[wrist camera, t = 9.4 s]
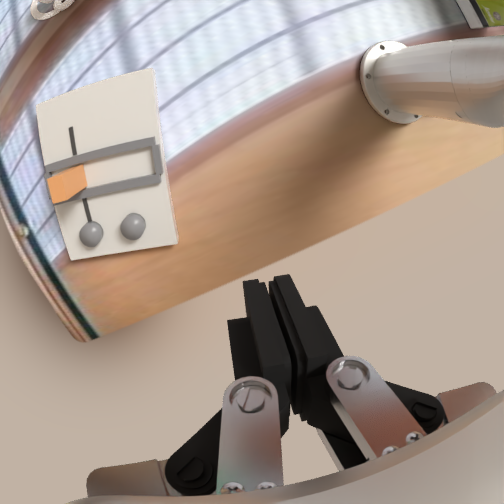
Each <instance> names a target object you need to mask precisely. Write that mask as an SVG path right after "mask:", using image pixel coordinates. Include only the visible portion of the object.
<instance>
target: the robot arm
mask: <svg viewBox="0 0 504 504" xmlns="http://www.w3.org/2000/svg"><path fill="white" fill-rule="evenodd" d="M360 80H361V85H362V89H363V91H364V94H365V96H366V98H367V100H368V102H369V103H370V105H371V106H372V107H373V109H374V110H375V111H376V112H377V113H378V114H379V115H381V116H382V117H384V118H385V119H387V120H389V121H391V122H395V123H401V124H408V123H412V122H415V121H417V120H418V119H420V118H421V117H422V116H429V117H436V118H443V119H449V120H455V121H460V122H466V123H471V124H476V125H481V126H485V127H491V128H499V127H504V35H501V36H489V37H478V38H466V39H456V40H448V41H440V42H433V43H427V44H421V45H415V46H410V47H407V46H406V45H404V44H402V43H399V42H396V41H383V42H379V43H377V44H375V45H373V46H371V47H370V48H369V49H368V50H367V51H366V53H365V54H364V56H363V59H362V61H361V66H360ZM384 111H385V112H384ZM243 289H244V297H245V306H246V313H247V317H246V318H239V319H232V320H227V322H228V330H229V339H230V346H231V354H232V361H233V368H234V376H235V381H234V382H233V383H232V384H230V385H229V386H228V388H227V389H226V390H225V393H224V396H223V407H222V409H221V410H220V411H219V412H218V413H216V414H215V415H214V416H213V417H212V418H211V419H210V420H209V421H208V422H207V423H206V424H205V425H204V426H203V427H202V428H201V429H200V430H199V431H198V432H197V433H196V434H195V435H194V436H192V437H191V439H189V440H188V441H187V442H186V443H185V444H184V445H183V446H182V447H180V448H179V449H178V450H177V451H176V452H175V453H174V454H173V455H172V456H171V457H170V458H169V459H166V460H162V461H157V460H156V459H154V460H149V461H144V462H138V463H132V464H126V465H118V466H111V467H102V468H98V469H96V470H94V471H92V472H91V473H90V474H89V476H88V478H87V484H86V487H87V494H88V498H83V499H78V500H74V501H72V502H69V503H66V504H504V390H503V391H501V392H499V393H496V391H495V389H494V388H493V387H492V386H491V385H490V384H488V383H485V382H479V383H475V384H472V385H468V386H465V387H461V388H458V389H454V390H450V391H446V392H442V393H439V394H438V395H437V396H436V397H434V396H432V395H429V394H426V393H422V392H419V391H416V390H412V389H409V388H406V387H403V386H400V385H396V384H393V383H390V382H387V381H384V380H383V379H382V377H381V376H380V375H379V374H378V372H377V371H376V370H375V369H374V368H373V366H372V365H371V364H370V363H369V362H367V361H366V360H364V359H362V358H360V357H355V356H345V357H344V355H343V354H342V352H341V350H340V348H339V346H338V344H337V342H336V340H335V338H334V336H333V335H332V333H331V331H330V329H329V327H328V325H327V323H326V321H325V319H324V318H323V316H322V314H321V312H320V310H319V309H318V307H317V306H310V307H305V305H304V303H303V301H302V299H301V297H300V295H299V293H298V290H297V289H296V287H295V284H294V282H293V281H292V278H291V276H290V275H289V274H287V275H281V276H275V277H274V281H269V293H268V291H267V288H266V285H265V283H264V282H262V283H259V280H258V279H255V280H248V281H243ZM290 404H291V407H292V410H293V413H294V414H295V415H296V414H300V417H301V421H306V420H307V423H308V424H309V425H311V426H313V427H315V428H316V429H317V432H318V435H319V436H320V438H321V440H322V442H323V444H324V445H325V447H326V449H327V451H328V452H329V454H330V456H331V458H332V460H333V461H334V463H335V465H336V467H337V468H338V470H339V472H336V473H333V474H330V475H326V476H323V477H319V478H316V479H311V480H307V481H303V482H299V483H295V484H290V485H285V486H284V484H283V467H282V452H281V451H282V450H281V438H282V436H283V435H284V434H285V432H286V431H287V430H288V429H289V416H290Z"/></svg>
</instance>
